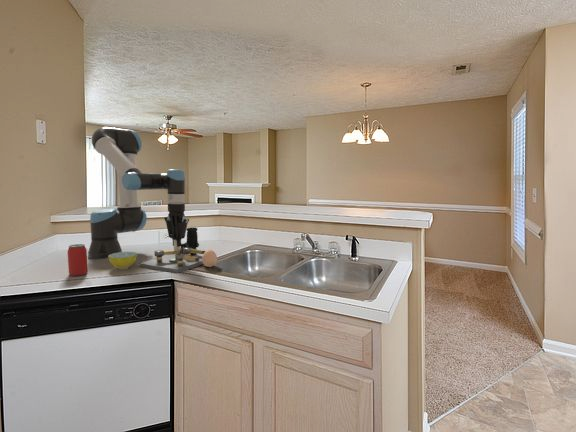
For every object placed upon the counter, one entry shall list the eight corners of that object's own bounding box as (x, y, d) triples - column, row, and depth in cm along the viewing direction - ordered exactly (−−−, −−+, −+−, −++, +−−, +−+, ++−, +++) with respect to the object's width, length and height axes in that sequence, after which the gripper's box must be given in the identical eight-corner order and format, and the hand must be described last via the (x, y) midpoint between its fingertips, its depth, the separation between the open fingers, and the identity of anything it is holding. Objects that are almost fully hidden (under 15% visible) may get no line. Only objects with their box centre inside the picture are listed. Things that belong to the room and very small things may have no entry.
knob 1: (181, 258, 160) (181, 248, 159) (187, 256, 164) (187, 247, 163) (202, 261, 155) (202, 251, 155) (207, 259, 159) (207, 249, 158)
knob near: (154, 262, 151) (154, 252, 151) (154, 260, 155) (154, 250, 154) (183, 260, 156) (182, 250, 155) (182, 258, 159) (182, 248, 159)
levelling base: (139, 266, 151) (139, 261, 151) (171, 257, 169) (171, 252, 169) (177, 272, 142) (177, 267, 142) (207, 262, 160) (207, 257, 160)
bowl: (106, 272, 141) (105, 258, 140) (112, 265, 152) (111, 252, 151) (135, 271, 144) (134, 256, 143) (139, 264, 155) (138, 251, 154)
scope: (187, 226, 181) (203, 227, 177) (188, 251, 182) (203, 253, 178) (177, 228, 173) (193, 229, 169) (178, 254, 175) (193, 256, 171)
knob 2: (173, 265, 147) (173, 255, 146) (179, 263, 150) (179, 253, 150) (196, 269, 142) (195, 258, 141) (202, 266, 145) (201, 256, 145)
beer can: (91, 272, 142) (89, 243, 140) (82, 276, 135) (80, 247, 134) (75, 271, 141) (73, 243, 140) (65, 276, 135) (63, 247, 133)
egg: (220, 267, 152) (219, 249, 151) (206, 269, 148) (206, 252, 147) (212, 264, 157) (212, 247, 156) (199, 266, 153) (199, 249, 152)
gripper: (159, 202, 155) (160, 253, 157) (181, 204, 149) (182, 256, 152) (171, 201, 161) (172, 250, 164) (192, 203, 156) (193, 253, 159)
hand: (177, 253), depth 158 cm, fingers closed
